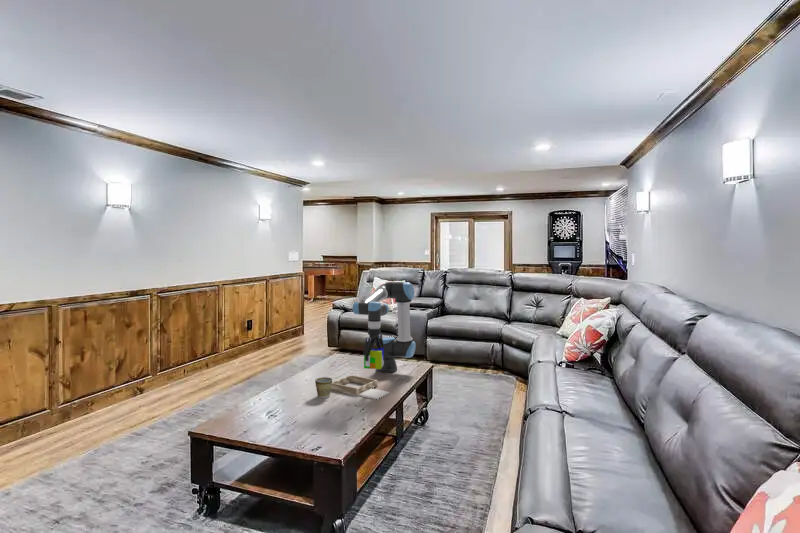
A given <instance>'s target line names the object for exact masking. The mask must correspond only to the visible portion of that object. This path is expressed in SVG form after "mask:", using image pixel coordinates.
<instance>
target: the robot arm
mask: <svg viewBox="0 0 800 533" xmlns="http://www.w3.org/2000/svg"><path fill="white" fill-rule="evenodd" d="M414 289H415V288H414V285H413V284H412V282H406V281H387V282H385V283H383V284H380V285H379V286H377V287H376V288H375V290H374V291H373V292H371V293H370V294H369V295H368V296H367V297H365V299H362V301H360V302H359V301H357V302H356V301H355V302H354V303H353V304H352V307H351V308H352V313H353V314H354V315H359V316H360V315H361V316H367V327H368V329H367V335H369V337H366V338H365V343H364V347H363V352H362V355H363V356H364V355H365V361H366V363H365V366H369V367H370V355H369V354H370V351H371V349H372V348H373V346H374V345H376V348H384V365H383V367H382V368H381V369H375V371H377V372H378V373H386V374H387V373H388V374H389V373H394V372H397V371H398V365H397V361H396V357H397V358H405V359H407V358H409V359H410V358H413V356H414V355H415V352H416V346H417V345H416V344H417V343H416V342H415V341H413V340H414V339H413V337H412V336H411V310H410V308H411V307H410V305H411V302H412V300H413V299H414V298H415V290H414ZM387 299H394V302H395V303H396V306H397V331H398V333H397V335H398V336H397V337H393V336H392V337H391V336H390V337H384V338H383V334H381V333H382V332H381V331H382V330H381V326H382V324H381V320H382V316H386V315H387V314H388V313H389V311H390V307H389V304H387V303H385V302H381V301H384V300H387Z"/></svg>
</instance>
